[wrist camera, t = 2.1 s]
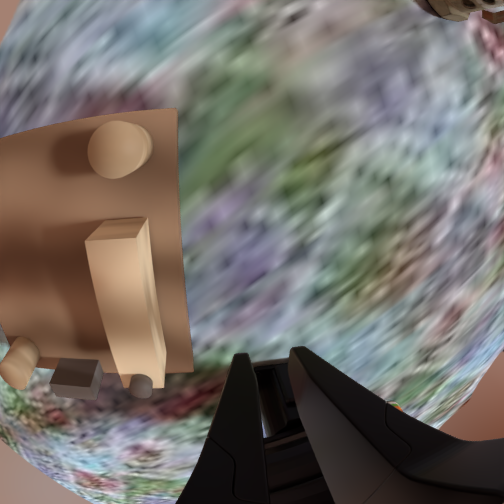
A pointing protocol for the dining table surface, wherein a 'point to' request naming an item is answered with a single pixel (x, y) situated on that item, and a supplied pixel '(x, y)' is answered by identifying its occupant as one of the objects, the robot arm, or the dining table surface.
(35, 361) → the stool seat
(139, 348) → the folding leg
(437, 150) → the dining table surface
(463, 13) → the grenade model
